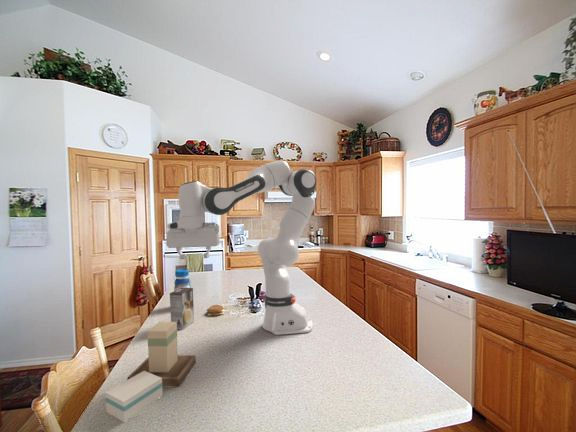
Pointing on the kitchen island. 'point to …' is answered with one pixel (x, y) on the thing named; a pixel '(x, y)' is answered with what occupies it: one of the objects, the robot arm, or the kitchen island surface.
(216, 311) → the hamburger
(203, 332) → the kitchen island surface
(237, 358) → the kitchen island surface
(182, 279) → the beverage bottle
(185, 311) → the coffee box
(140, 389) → the wide carton
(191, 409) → the kitchen island surface
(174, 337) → the slim carton
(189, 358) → the brown wooden tray
